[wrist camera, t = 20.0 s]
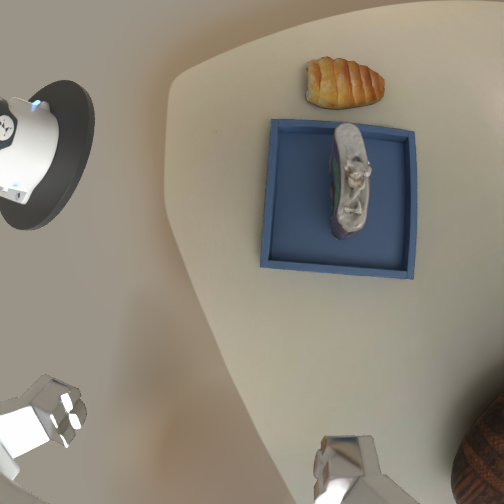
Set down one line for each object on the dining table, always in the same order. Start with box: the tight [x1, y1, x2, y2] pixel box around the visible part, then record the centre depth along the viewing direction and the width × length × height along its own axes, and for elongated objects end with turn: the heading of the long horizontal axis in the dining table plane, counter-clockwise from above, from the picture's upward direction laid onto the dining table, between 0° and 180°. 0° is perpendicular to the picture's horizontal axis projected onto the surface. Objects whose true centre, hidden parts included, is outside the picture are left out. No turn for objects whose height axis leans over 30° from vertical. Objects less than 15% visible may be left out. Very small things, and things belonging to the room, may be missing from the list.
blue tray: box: [260, 119, 417, 280], centre depth 30 cm, size 16×16×3 cm
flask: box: [329, 122, 372, 240], centre depth 25 cm, size 9×3×11 cm, turn 179°
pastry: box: [306, 57, 385, 110], centre depth 29 cm, size 9×7×4 cm
